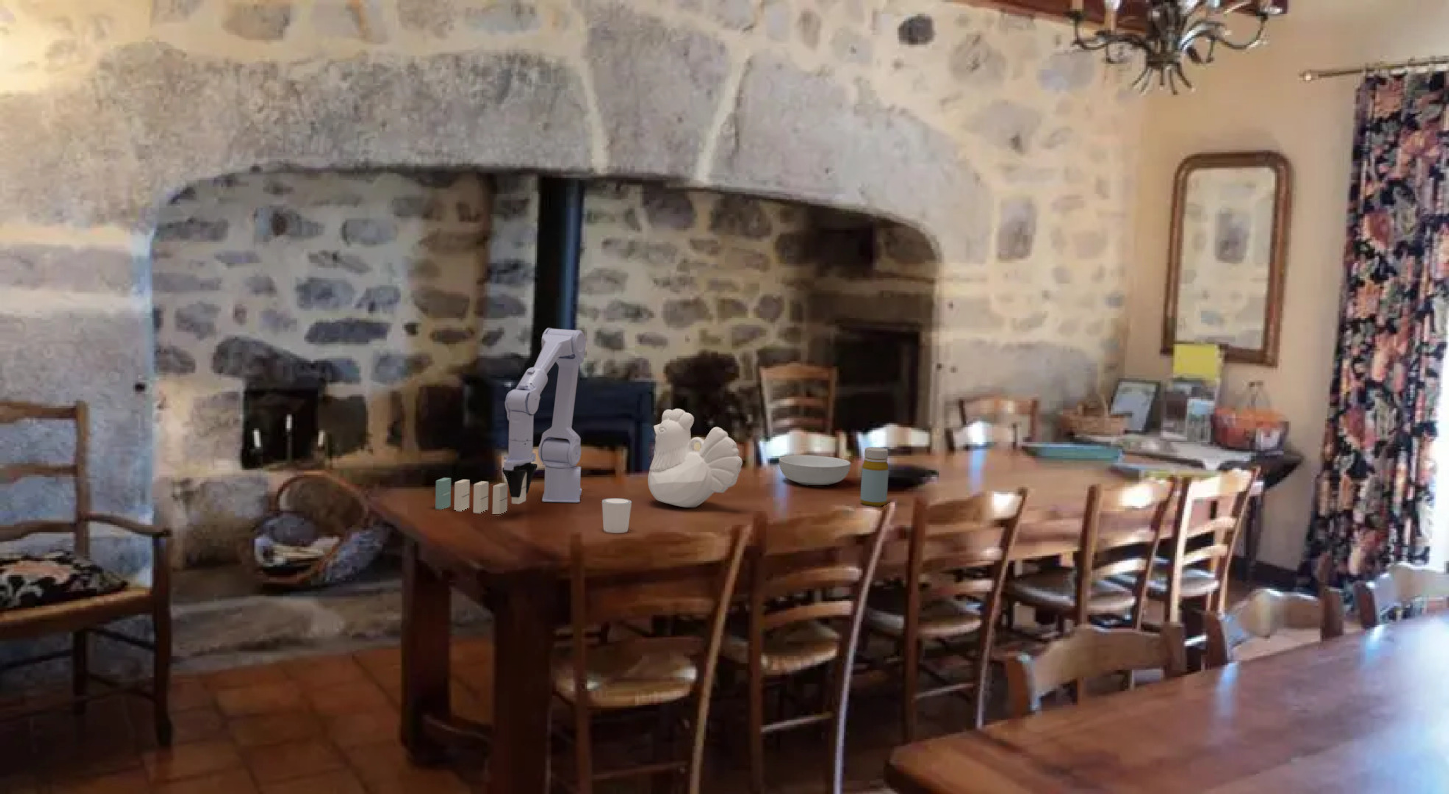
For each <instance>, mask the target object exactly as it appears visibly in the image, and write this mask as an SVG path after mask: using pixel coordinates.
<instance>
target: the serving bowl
mask: <svg viewBox="0 0 1449 794" xmlns="http://www.w3.org/2000/svg"><path fill="white" fill-rule="evenodd" d="M778 463H779V464H778V465H779V469H780V472H781V473H782V474H783V476H785V478H787V479H788V480H790V481H793V482H795V483H798V484H800V485H802V486H808V485H827V486H829V485H832V484H837V483H839V482H841V481H843V480H844V479H845V478H846V477H847V476H848V474H849V472H850V468H851V464H852V463H851V462H850V461H849V460H846V459H843V458H839V457H832V456H822V455H811V454H810V455H806V454H803V455H800V454H797V455H796V454H795V455H784V456H780V457H779V459H778Z"/></svg>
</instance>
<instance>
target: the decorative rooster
mask: <svg viewBox="0 0 1449 794" xmlns="http://www.w3.org/2000/svg"><path fill="white" fill-rule="evenodd" d="M694 422H695V417H694V415H693V414H691V413H689V412H686V411H685V410H684V409H681V408H675V409H665V410H664V411H663V413H662V415H661V422H660V423H659V424H655V425H653V429H654V433H655V437H654V439H655V440H654V441H655V444H654V450H655V452H654V456H653V459H652V461H651V464H650V466H649V472H648V475H647V485H648V489H649V491H650V493H651V495H652V496H653V497H654V498H655V500H657V501H658V502H662V503H665V504H669V505H673V506H676V507H677V506H678V507H682V508H697V507H698V506H701V504H702V503H704V502H706V501H707V500H708V499H709V498H710V497H711V496H712V495H713V494H714V493H721V494H724V493H725V492H726V491H727V490H728V489H729V488H731V487H734V485H736V484H737V482H738V481H737V480H738V478H739V474H740V473H741V471H742V465H743V459H742V458H741V457H740V456H739V454H740V450H739V449H738V444H737V443H736V441H734V439H732V437H729V434H728V431H726V430H724V429H723V428H721V427H719V426H715V427H713V428H711V430H710V431H709V433H708V434H707V435H706V437H705V439H703V438H702V437H699V436H696V437H693V438H691V437H692V435H691V429H692V426H693V424H694ZM696 443H698V444H699V445H700V448H699V450H695V448H694V447H695V444H696Z"/></svg>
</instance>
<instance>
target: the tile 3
mask: <svg viewBox="0 0 1449 794" xmlns="http://www.w3.org/2000/svg"><path fill="white" fill-rule="evenodd" d="M472 507H473V510H472V512H473V513H474V514H482V513H484V512H486V511H485V510H487V511H488V510H489V481H484V480H483V481H482V480H481V481H479V482H475V483H474V484H473V506H472ZM483 511H484V512H483ZM481 512H482V513H481Z"/></svg>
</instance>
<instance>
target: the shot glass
mask: <svg viewBox="0 0 1449 794" xmlns="http://www.w3.org/2000/svg"><path fill="white" fill-rule="evenodd" d="M601 505H602V524H603V527H602V528H603V531H604V532H606V533H611V534H612V533H613V534H620V533H621V534H623V533H627V532H628V531H629V524H630V516H631V510H632V500H630V499H627V498H619V497H617V498H616V497H613V498H612V497H611V498H604V499H602V500H601Z"/></svg>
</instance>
